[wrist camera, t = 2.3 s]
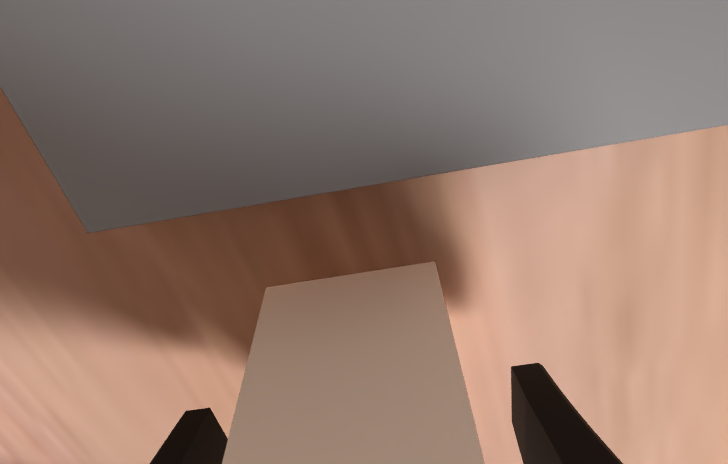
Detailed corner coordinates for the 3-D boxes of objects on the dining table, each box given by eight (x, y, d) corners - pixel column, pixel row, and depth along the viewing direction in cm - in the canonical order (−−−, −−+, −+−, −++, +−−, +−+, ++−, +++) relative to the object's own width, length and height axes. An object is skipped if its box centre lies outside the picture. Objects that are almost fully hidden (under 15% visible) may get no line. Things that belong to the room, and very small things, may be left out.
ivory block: (435, 261, 12) (513, 578, 6) (448, 376, 14) (514, 684, 8) (266, 286, 12) (185, 610, 6) (307, 395, 15) (275, 702, 9)
